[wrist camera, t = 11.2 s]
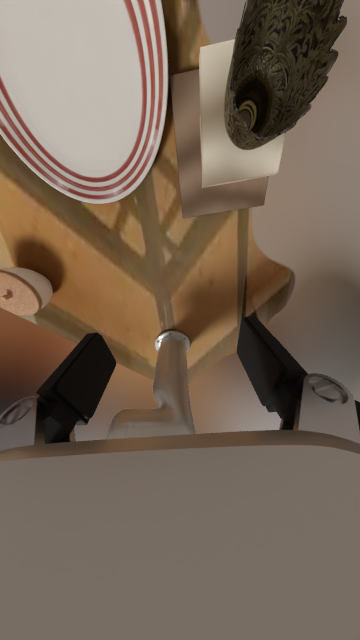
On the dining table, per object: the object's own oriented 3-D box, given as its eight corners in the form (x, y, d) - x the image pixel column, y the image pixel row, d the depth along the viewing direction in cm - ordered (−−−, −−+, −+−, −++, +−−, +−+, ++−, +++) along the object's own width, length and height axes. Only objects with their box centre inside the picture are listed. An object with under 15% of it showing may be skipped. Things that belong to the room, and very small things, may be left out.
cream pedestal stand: (259, 205, 28) (293, 198, 20) (182, 218, 29) (184, 215, 21) (282, 59, 19) (360, -64, 11) (170, 84, 20) (164, -11, 12)
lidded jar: (12, 284, 37) (-32, 300, 29) (19, 252, 33) (-30, 260, 25) (55, 307, 41) (27, 326, 34) (67, 281, 37) (37, 296, 29)
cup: (205, 162, 18) (220, 127, 11) (221, 55, 14) (259, -98, 7) (259, 172, 19) (303, 143, 12) (290, 71, 14) (385, -58, 8)
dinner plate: (110, 237, 31) (104, 238, 29) (-59, 78, 20) (-97, 54, 17) (207, 92, 21) (211, 72, 18) (-36, -423, 9) (-124, -689, 7)
